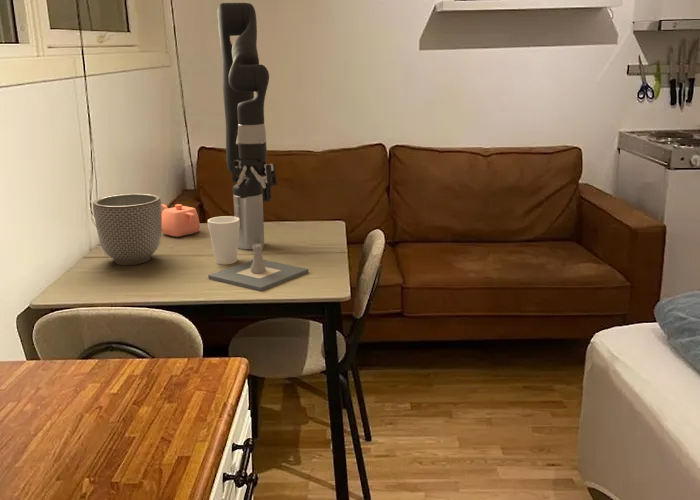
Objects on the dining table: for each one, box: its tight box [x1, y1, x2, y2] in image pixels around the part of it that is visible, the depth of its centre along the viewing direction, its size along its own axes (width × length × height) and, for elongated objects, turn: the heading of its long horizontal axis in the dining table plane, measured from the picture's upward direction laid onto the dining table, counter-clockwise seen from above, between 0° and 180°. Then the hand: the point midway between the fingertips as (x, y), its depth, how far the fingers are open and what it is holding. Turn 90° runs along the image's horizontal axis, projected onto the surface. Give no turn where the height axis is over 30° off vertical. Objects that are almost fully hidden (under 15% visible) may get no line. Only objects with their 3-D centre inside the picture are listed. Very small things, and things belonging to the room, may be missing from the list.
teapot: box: [161, 203, 201, 238], centre depth 255 cm, size 12×18×10 cm, turn 50°
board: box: [207, 259, 309, 292], centre depth 207 cm, size 20×20×1 cm
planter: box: [92, 193, 162, 266], centre depth 222 cm, size 20×20×19 cm
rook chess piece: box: [251, 243, 266, 274], centre depth 206 cm, size 4×4×8 cm
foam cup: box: [207, 215, 240, 265], centre depth 220 cm, size 10×9×13 cm
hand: (255, 199), depth 202 cm, fingers open, 8 cm apart
